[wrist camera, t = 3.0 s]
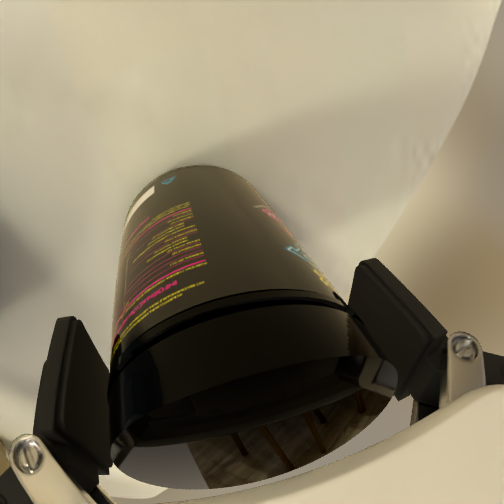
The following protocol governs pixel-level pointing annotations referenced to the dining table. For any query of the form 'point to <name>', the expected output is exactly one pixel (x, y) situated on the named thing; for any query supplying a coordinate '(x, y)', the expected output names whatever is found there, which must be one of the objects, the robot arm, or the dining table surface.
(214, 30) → the dining table surface
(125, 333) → the supplement container
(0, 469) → the planter bowl
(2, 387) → the dining table surface
